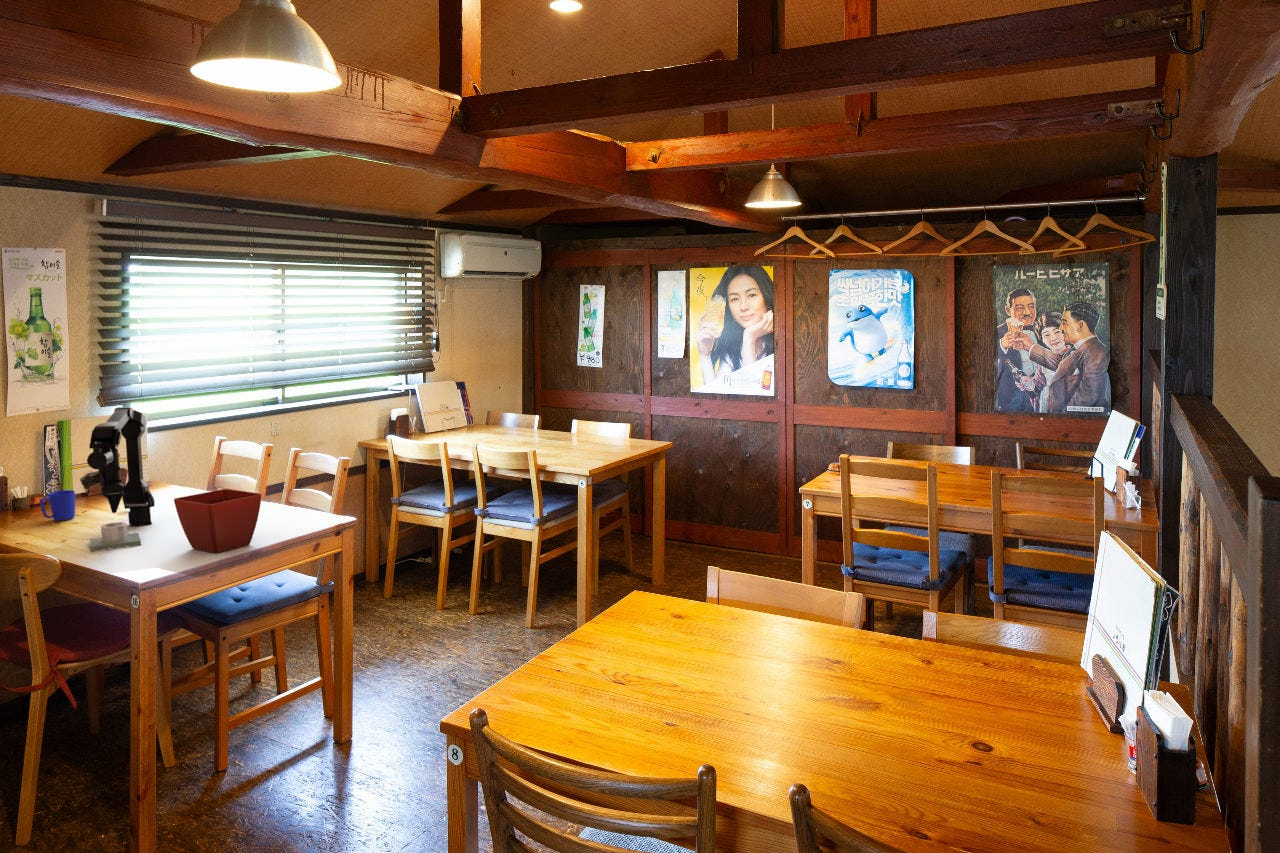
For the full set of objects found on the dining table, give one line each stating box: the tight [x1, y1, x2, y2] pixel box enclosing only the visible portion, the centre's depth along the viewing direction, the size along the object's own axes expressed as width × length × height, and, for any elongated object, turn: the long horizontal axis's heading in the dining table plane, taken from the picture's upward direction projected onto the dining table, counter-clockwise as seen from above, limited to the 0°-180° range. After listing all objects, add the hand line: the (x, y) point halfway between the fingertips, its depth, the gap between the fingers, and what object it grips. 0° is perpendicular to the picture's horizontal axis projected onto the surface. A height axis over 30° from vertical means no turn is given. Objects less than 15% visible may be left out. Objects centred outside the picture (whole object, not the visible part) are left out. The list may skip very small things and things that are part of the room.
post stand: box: [89, 524, 142, 552], centre depth 298 cm, size 14×12×6 cm
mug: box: [39, 489, 76, 521], centre depth 331 cm, size 8×12×10 cm
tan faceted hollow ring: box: [100, 521, 128, 543], centre depth 298 cm, size 7×7×5 cm
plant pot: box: [173, 488, 262, 554], centre depth 293 cm, size 19×19×17 cm
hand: (113, 509), depth 300 cm, fingers open, 9 cm apart
